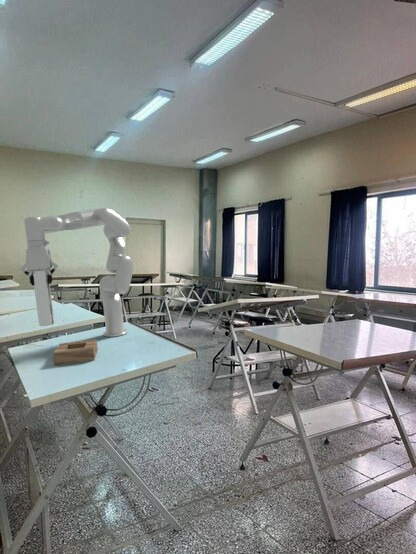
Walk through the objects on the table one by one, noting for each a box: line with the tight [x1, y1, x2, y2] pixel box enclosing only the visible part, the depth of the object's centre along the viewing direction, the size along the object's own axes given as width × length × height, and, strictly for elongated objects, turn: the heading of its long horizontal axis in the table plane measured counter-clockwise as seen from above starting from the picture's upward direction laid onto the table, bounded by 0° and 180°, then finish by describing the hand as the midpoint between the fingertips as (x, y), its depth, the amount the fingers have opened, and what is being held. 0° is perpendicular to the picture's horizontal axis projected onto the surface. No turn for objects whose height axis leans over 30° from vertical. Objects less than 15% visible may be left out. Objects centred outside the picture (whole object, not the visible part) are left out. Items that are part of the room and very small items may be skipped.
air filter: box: [32, 269, 55, 327], centre depth 170 cm, size 6×6×25 cm
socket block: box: [52, 338, 99, 366], centre depth 164 cm, size 16×16×5 cm
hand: (41, 284), depth 169 cm, fingers closed on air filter, 6 cm apart
